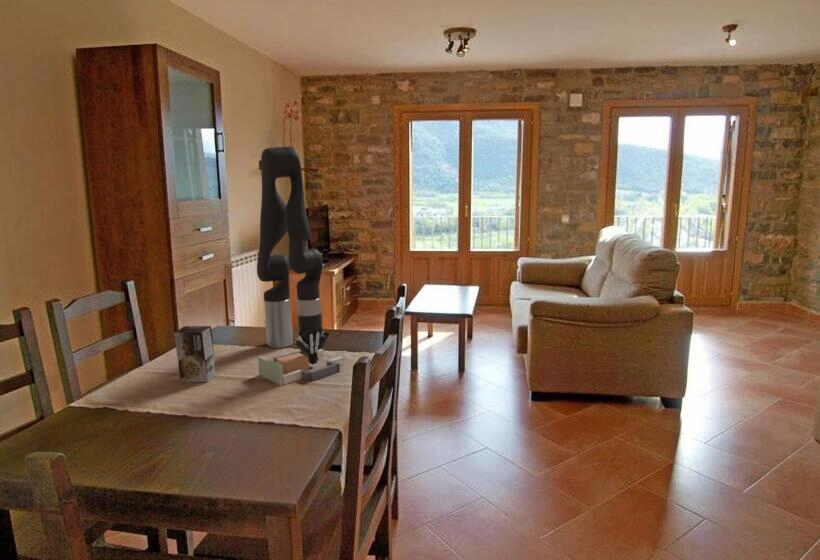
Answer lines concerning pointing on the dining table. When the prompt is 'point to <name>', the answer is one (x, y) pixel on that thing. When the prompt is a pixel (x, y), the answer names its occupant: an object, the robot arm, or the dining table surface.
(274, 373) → the box
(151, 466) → the dining table surface
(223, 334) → the dining table surface
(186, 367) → the coffee box
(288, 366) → the terracotta block
